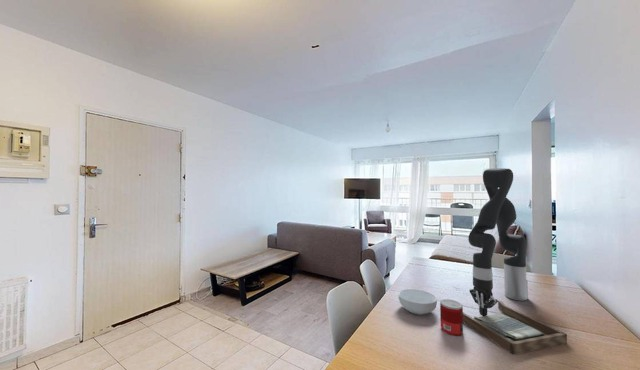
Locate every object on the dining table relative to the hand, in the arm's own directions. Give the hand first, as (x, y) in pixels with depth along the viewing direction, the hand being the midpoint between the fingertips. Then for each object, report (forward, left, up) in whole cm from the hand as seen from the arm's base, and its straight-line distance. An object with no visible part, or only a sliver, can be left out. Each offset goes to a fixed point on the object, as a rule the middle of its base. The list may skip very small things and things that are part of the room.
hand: (483, 315), depth 109 cm
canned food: (+22, +6, -1) cm, 23 cm away
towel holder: (0, +9, 0) cm, 9 cm away
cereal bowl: (+26, -12, -1) cm, 28 cm away
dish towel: (0, +10, -1) cm, 10 cm away
